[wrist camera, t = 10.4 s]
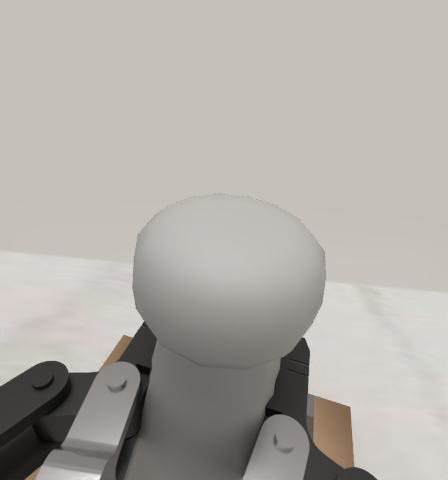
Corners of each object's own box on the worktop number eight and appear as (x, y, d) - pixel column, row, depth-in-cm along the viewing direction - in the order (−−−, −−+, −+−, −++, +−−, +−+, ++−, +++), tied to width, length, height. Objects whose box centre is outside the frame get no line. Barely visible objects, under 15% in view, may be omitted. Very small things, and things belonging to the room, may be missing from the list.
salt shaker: (200, 625, 10) (283, 432, 3) (99, 485, 13) (21, 213, 6) (286, 469, 14) (410, 228, 7) (196, 388, 17) (219, 156, 10)
